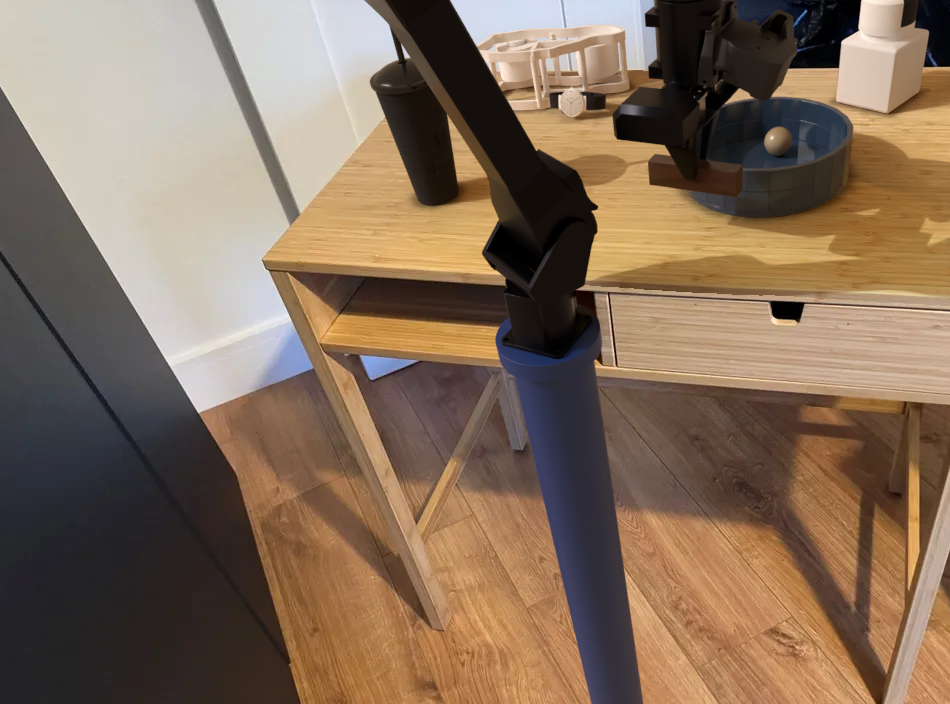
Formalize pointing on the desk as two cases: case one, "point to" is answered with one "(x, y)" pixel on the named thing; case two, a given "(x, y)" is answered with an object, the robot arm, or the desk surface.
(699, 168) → the brown rectangular block
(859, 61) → the medicine bottle
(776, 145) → the bead
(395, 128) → the drinking cup
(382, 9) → the robot arm
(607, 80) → the skeletal toy car
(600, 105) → the watch
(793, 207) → the bowl
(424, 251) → the desk surface
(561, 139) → the desk surface
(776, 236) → the desk surface
